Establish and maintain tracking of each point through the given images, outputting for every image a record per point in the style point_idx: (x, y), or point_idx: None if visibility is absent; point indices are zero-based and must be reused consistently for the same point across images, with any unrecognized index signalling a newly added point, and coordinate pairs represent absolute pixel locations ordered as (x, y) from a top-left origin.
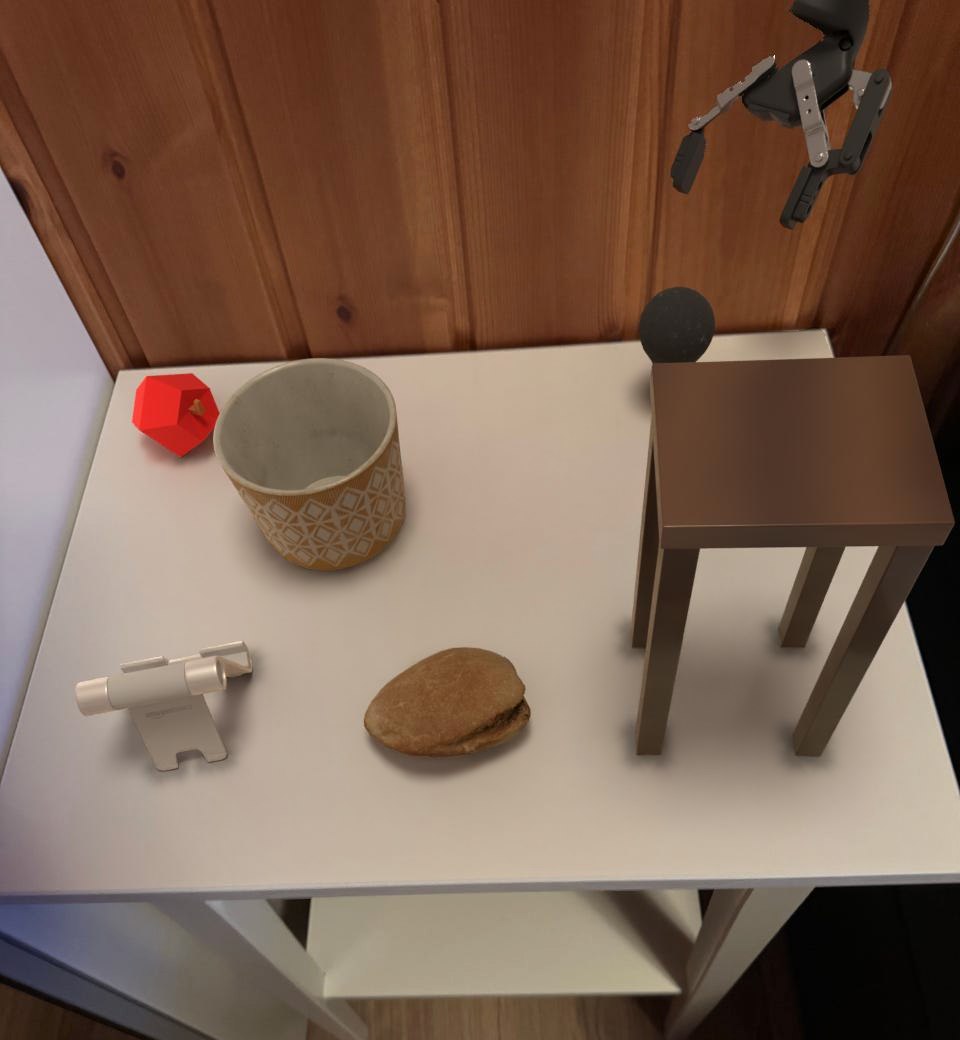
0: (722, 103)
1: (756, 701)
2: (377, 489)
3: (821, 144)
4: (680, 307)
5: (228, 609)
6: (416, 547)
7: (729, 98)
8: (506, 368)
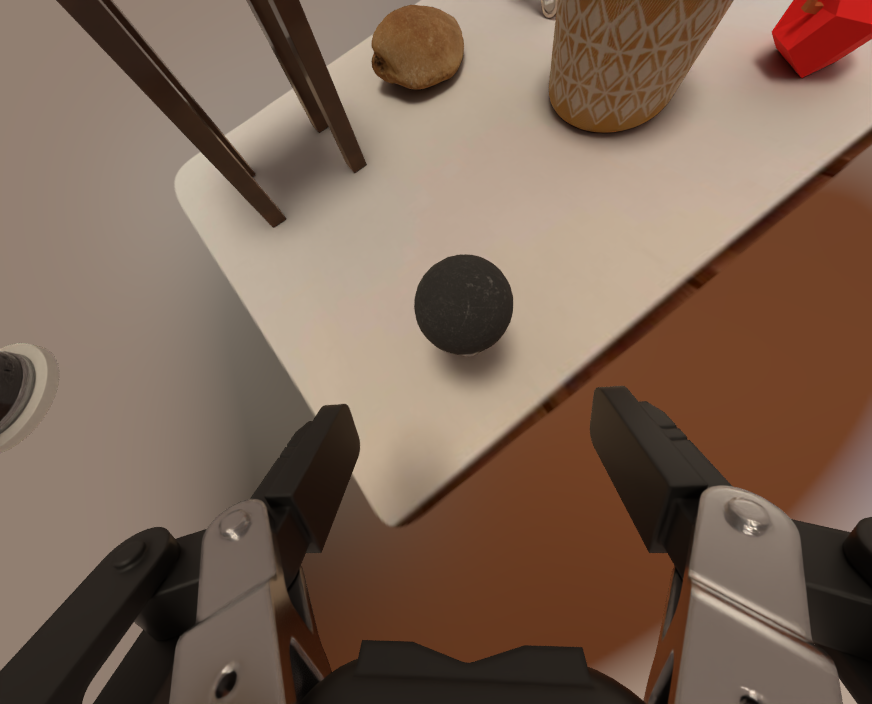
0: (708, 596)
1: (280, 177)
2: (558, 2)
3: (219, 567)
4: (447, 268)
5: None
6: (533, 117)
7: (699, 634)
8: (635, 281)
